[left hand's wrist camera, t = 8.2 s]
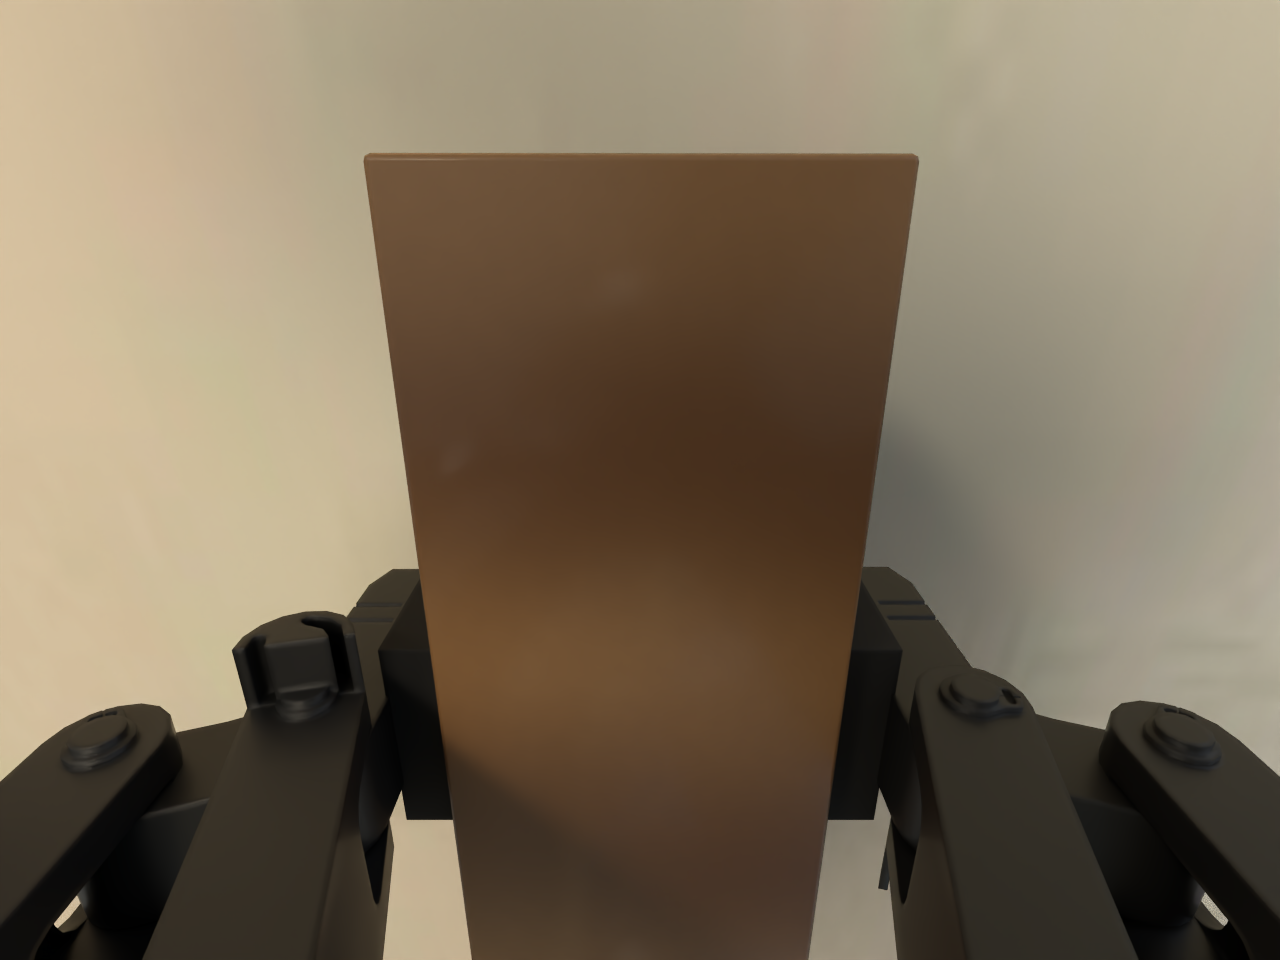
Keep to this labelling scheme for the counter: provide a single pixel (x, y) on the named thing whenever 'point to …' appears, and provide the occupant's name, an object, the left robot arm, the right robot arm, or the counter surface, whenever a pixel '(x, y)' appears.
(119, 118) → the counter surface
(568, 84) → the counter surface
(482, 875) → the bar
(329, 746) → the left robot arm
